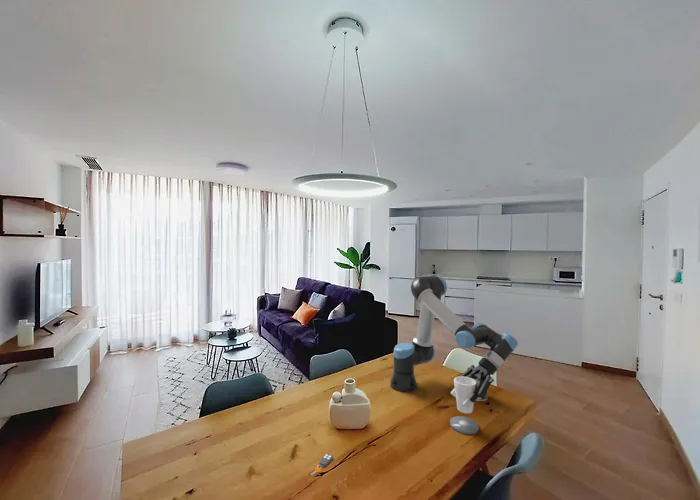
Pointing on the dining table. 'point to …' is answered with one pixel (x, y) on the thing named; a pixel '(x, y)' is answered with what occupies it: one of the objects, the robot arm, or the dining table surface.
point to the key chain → (323, 462)
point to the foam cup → (464, 392)
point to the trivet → (464, 425)
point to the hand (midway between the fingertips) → (458, 400)
